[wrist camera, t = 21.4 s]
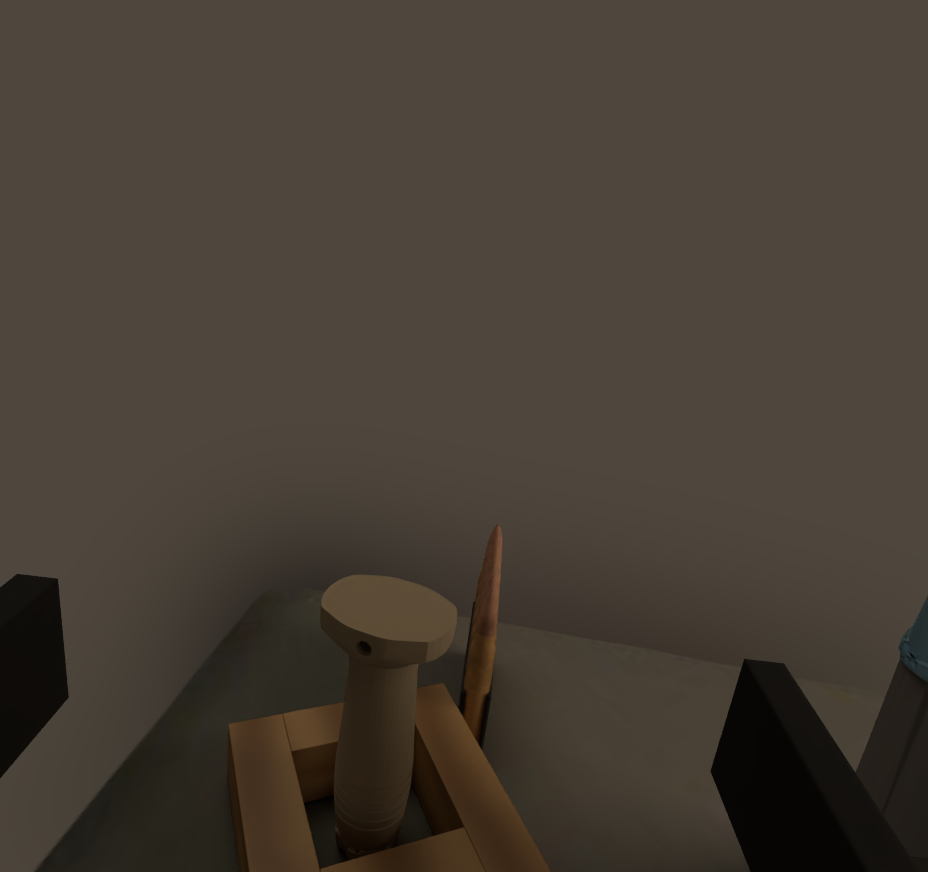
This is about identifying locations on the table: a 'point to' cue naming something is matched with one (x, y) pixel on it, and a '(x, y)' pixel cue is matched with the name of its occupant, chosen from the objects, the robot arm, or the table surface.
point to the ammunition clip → (482, 642)
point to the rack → (312, 777)
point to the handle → (380, 699)
